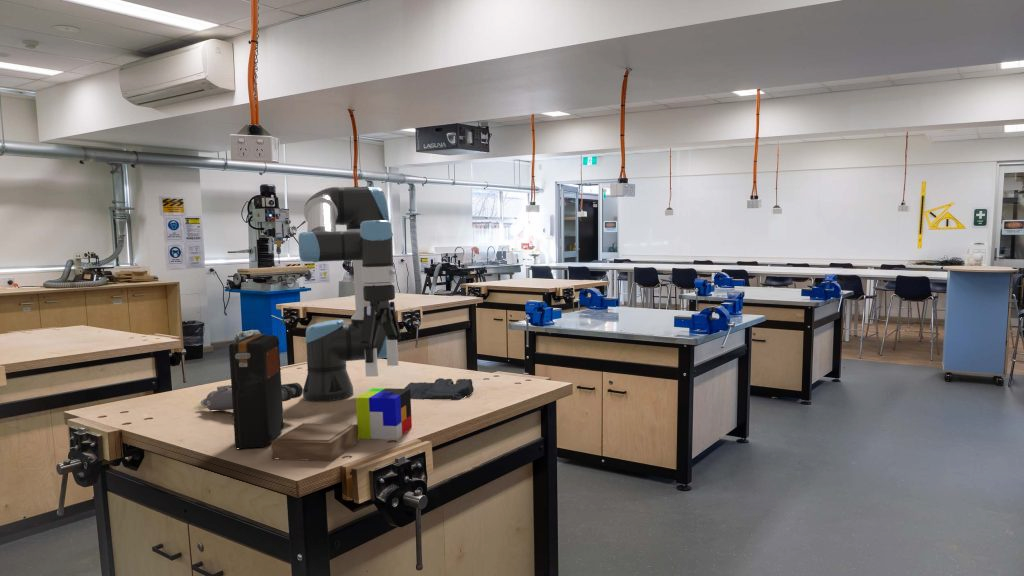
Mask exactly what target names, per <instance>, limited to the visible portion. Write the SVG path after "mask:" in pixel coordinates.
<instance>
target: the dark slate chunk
mask: <svg viewBox="0 0 1024 576" xmlns="http://www.w3.org/2000/svg"><path fill="white" fill-rule="evenodd" d="M403 389H410V395H411V400H424V399H451V400H450V401H460V400H463V399H462V398H464V397H465V396H467V395H469V396H471V395H472V394H473V393H472V392H474V385H473V381H472V379H471V378H459V379H456V381H455V383H454V380H453V379H452V378H443V377H442V378H441V377H440V378H439V377H438V378H437V379H435V380H434V382H426V381H425V382H409V383H408V384H407V385H406V386H405V387H404V388H403ZM471 393H472V394H471ZM470 394H471V395H470ZM467 397H468V396H467Z"/></svg>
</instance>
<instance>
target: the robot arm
mask: <svg viewBox="0 0 1024 576" xmlns="http://www.w3.org/2000/svg"><path fill="white" fill-rule="evenodd" d="M387 202H388V201H387V199H386V193H385V192H384V190H383V189H382V188H380V187H377V186H341V187H340V186H332V187H326V188H324V189H321V190H319V191H317V192H316V193H314V194H313V195H311V196H310V197H309V198H308V199H307V201H306V203H305V204H304V208H303V216H304V219H305V221H306V222H307V231H306V232H300V233H299V234H298V239H297V240H298V253H299V254H298V256H299V259H300V261H301V262H308V263H320V262H321V263H323V262H324V263H325V262H341V261H343V262H344V261H346V262H347V261H352V262H353V283H354V301H355V302H354V304H355V305H354V306H355V313H354V314H353V315H352V316H351V318H350V323H345V321H344V320H343V319H332V320H327V321H325V320H324V321H322V322H317V323H314V324H311V325H309V326H308V327H307V328H306V330H305V344H306V347H305V348H306V366H307V368H306V369H307V374H306V379H305V382H304V386H303V392H302V399H303V400H304V401H307V400H308V401H309V402H329V401H331V402H332V401H338V400H342V399H343V400H344V399H346V398H349V397H352V396H353V395H354V386H353V384H352V383H353V382H352V381H351V378H350V376H349V373H348V370H347V362H352V361H354V362H355V361H364V365H365V367H364V368H365V377H379V369H378V359H385V358H386V365H387V367H388V366H389V367H394V366H396V367H398V366H399V350H398V349H399V348H398V340H401V339H402V338H401V337H402V335H401V330H400V325H399V320H398V317H397V313H396V306H395V305H396V304H395V301H393V300H395V299H396V291H395V289H396V288H395V287H396V286H395V285H394V284H392V283H394V282H395V276H394V275H395V274H396V270H395V269H394V257H393V256H394V255H393V254H394V252H393V250H394V249H393V248H394V247H393V236H394V234H393V230H392V229H393V228H392V223H391V222H390V217H389V208H388V203H387ZM336 226H346V230H343V231H342V230H340V231H338V230H337V227H336Z"/></svg>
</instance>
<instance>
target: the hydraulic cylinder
mask: <svg viewBox="0 0 1024 576" xmlns="http://www.w3.org/2000/svg"><path fill="white" fill-rule="evenodd" d="M281 388H282V402H288V401H289V400H292V399H297V398H300V397H301V396H303V389H304V387H302V385H301V384H300V383H298V382H291V383H285V384H283V383H282V384H281ZM216 389H217V390H214V391H211V392H209V393H208V394H207V395H206V398H203V399H202V400H201V401H200V404H201V406H203V407H206V408H207V409H208V410H209V411H211V410H223V411H230V410H232V411H233V403H232V388H231V384H227V385H222V386H217V387H216Z"/></svg>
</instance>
